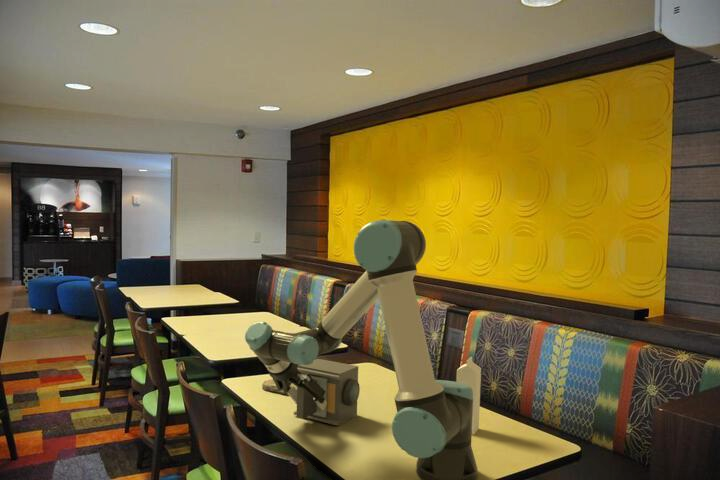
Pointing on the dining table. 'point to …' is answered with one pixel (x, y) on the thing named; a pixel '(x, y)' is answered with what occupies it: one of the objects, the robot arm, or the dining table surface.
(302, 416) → the door
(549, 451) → the dining table surface
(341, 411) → the camera box
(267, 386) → the long grey stone
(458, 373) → the milk
